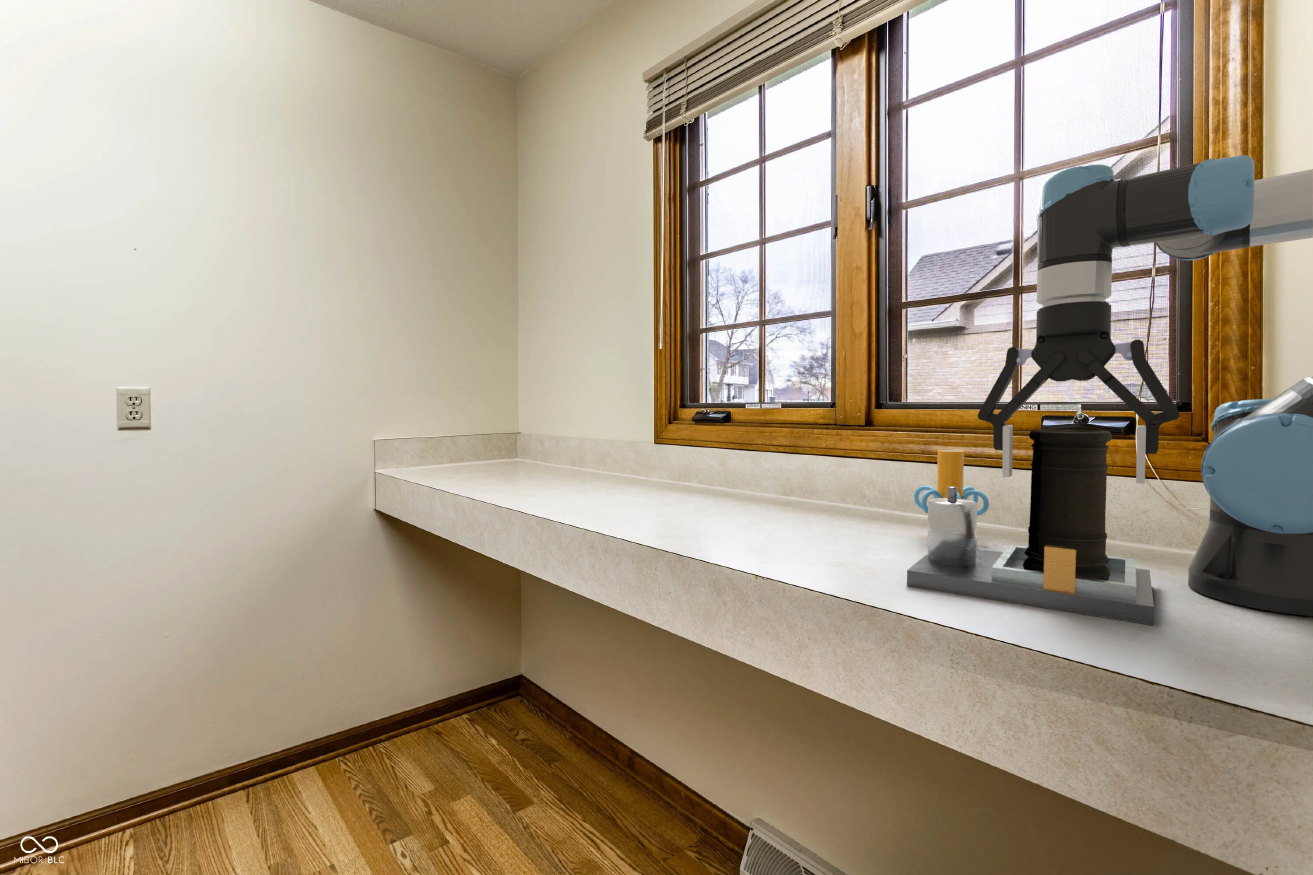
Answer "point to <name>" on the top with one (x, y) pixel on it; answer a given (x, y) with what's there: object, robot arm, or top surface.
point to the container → (1069, 498)
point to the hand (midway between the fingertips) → (1070, 479)
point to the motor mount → (1023, 571)
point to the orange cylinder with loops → (950, 481)
